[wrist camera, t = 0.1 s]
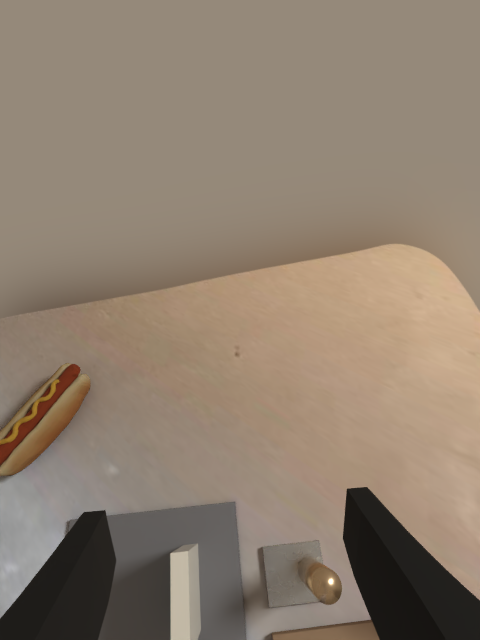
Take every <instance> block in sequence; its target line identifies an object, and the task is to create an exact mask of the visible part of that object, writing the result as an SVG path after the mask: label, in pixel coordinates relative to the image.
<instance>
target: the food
mask: <svg viewBox="0 0 480 640" xmlns="http://www.w3.org/2000/svg"><path fill="white" fill-rule="evenodd" d="M80 370H81V369H80V367H78V366H77V365H75V364H69V363H66V364H64V365H62V366H61V367H60V368H59V369H58V370H57V371H56V372H55V373H54V374H53V376H52V377H51V378H50V379H49V380H48V381H47V382H46V383H45V384H44V385H43V386H41V387H40V388H39V389H38V390H37V391H36V392H35V393H34V394H33V395H32V396H31V398H30V399H29V400H28V401H27V402H26V403H25V404H24V405H23V407H22V408H21V409H20V410H19V411H18V412H17V413H16V414H15V416H14V417H13V418H12V419H11V420H10V422H9V423H8V424H7V425H6V426H5V427H4V428H3V429H2V430H1V431H0V476H10V475H14V474H16V473H18V472H20V471H22V470H23V469H24V468H26V467H27V466H28V465H30V464H31V463H32V462H33V461H34V460H35V459H36V458H37V457H38V456H40V455H41V454H42V453H43V452H44V451H45V450H46V449H47V447H48V446H49V445H50V444H51V443H52V442H53V441H54V440H55V439H56V438H57V436H58V435H59V434H60V433H61V432H62V431H63V430H64V429H65V427H66V426H67V425H68V424H69V423H70V421H71V420H72V418H73V416H74V415H75V413H76V412H77V411H78V409H79V407H80V405H81V403H82V401H83V399H84V398H85V396H86V395H87V393H88V391H89V389H90V379H89V377H88V375H86V374H80Z"/></svg>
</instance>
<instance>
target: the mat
mask: <svg viewBox="0 0 480 640" xmlns="http://www.w3.org/2000/svg"><path fill="white" fill-rule="evenodd" d="M77 520H78V519H75V520H70V523H69V531H70V529H71V528H72V527H73V525H74V524H75V523H76V521H77ZM107 521H108V525H109V530H110V534H111V538H112V543H113V547H114V552H115V556H116V566H115V571H114V577H113V582H112V588H111V593H110V598H109V603H108V606H107V610H106V613H105V617H104V620H103V624H102V627H101V631H100V634H99V638H98V640H170V553H172V552H173V551H175V550H176V549H178V548H180V547H181V546H183V545H189V544H197V543H198V558H199V587H200V616H201V631H200V634H199V637H198V640H246V629H245V617H244V604H243V592H242V580H241V568H240V555H239V543H238V531H237V519H236V506H235V502H228V503H219V504H210V505H201V506H192V507H183V508H174V509H165V510H156V511H147V512H138V513H129V514H120V515H111V516H107ZM69 531H68V532H69Z"/></svg>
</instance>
